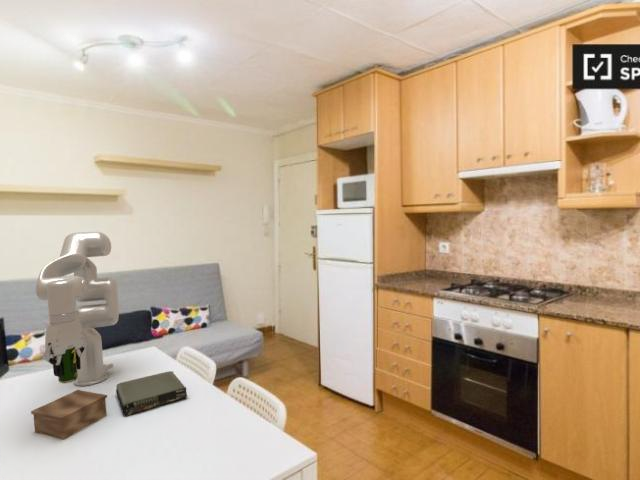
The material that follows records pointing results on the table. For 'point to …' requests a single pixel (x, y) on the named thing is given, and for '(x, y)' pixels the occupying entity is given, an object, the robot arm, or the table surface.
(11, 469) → the table surface
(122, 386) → the network switch
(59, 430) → the wooden block
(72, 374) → the beer can
